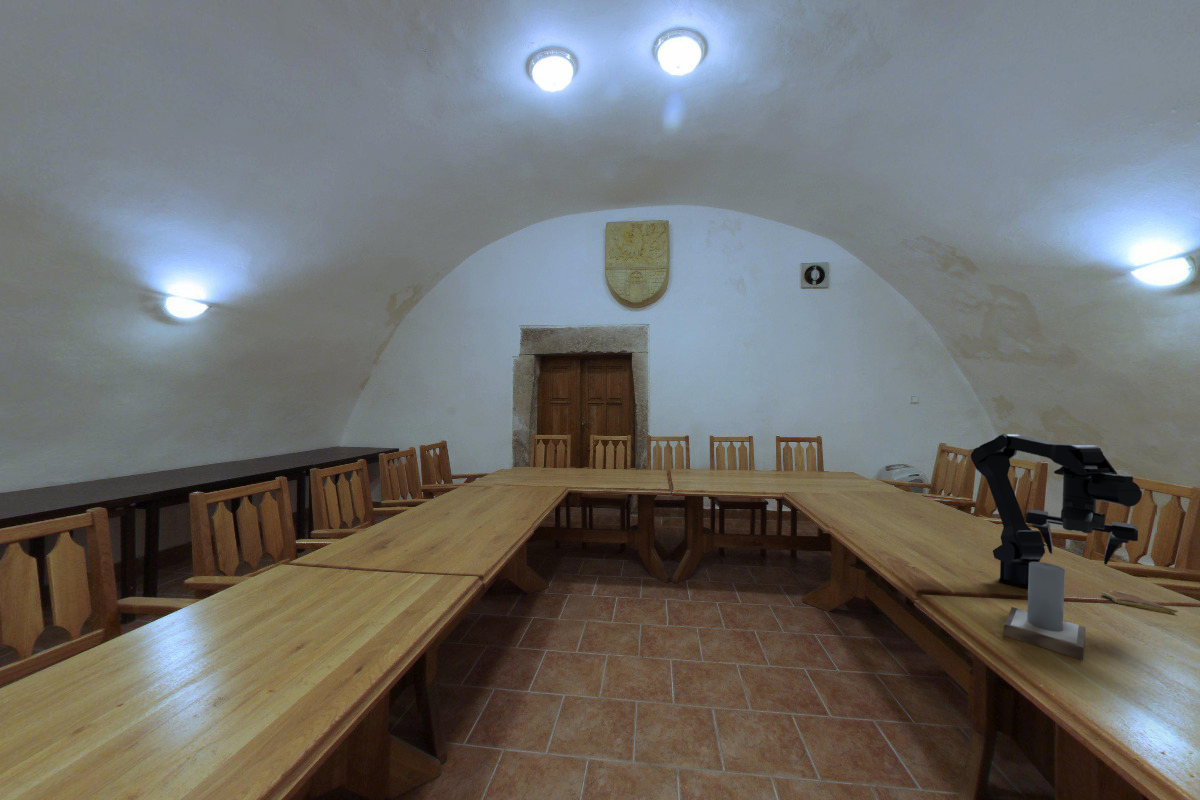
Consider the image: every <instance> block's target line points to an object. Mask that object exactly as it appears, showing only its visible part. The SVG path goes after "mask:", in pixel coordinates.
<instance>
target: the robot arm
mask: <svg viewBox="0 0 1200 800" xmlns="http://www.w3.org/2000/svg"><path fill="white" fill-rule="evenodd" d="M1017 452H1023V453H1027V454H1031V455H1035V456H1039V457H1044V458H1047V459H1049V460H1051V461H1052V462H1053V463H1055V464H1057V465H1060V466H1061V467H1059V468H1058V469H1056V470H1054V471H1053V474H1054V475H1058V476H1063V479H1062V480H1063V481H1062V505H1061V507H1062V508H1061V511H1060V516H1054V515H1049V511H1044V510H1039V509H1028V510H1027V511H1026V512H1025V517H1024V515H1023V513H1022V509H1021V507H1020V504H1019V502H1018V499H1017V496H1016V494H1015V492H1014V488H1013V485H1012V484H1011V481H1010V478H1009V472H1010V468H1011V461H1010V459H1012V458H1013V457H1015V456H1016V455H1017ZM970 459H971V461H972V463H973V465H974V467H975V470H977V471H978V473H980V474H981V475H983V477H984V478H985V480H986V481H987V484H988V488H989V489H990V493H991V495H992V498H993V500H994V501H993V502H994V504H995V507H996V509H997V512H998V515H999V518H1000V520H1001V523H1002V525H1003V526H1002V527H1003V528H1002V530H1001V535H1000V542H1001V544H1000V545H999V546H998V547H996V548H994V549H993V550H992V554H993V557H994V559H996V560H998V561H1000V564H999V565H1000V566H999V579H998V582H999V583H1001V584H1002V583H1003V584H1006V585H1010V586H1013V587H1017V588H1018V587H1019V588H1022V589H1027V590H1028V579H1029V562H1041V560H1042V558H1043V556H1044V554H1046V548H1045V547H1047V550H1048V553H1049V554H1053V548H1054V547H1053V546H1054V545H1053V541H1052V540H1053V539H1052V530H1051V524H1053V525H1054V524H1055V525H1058V526H1059V525H1061V526H1062V528H1063V529H1064V530H1066V531H1076V532H1082V534H1083V533H1084V534H1092V533H1093V531H1098V532H1103V533H1108V534H1109V535H1108V539H1107V543H1106V548H1105V552H1104V558H1103V565H1107V564H1108V563H1109V561H1110V560H1111V557H1112V556H1113V554H1114V552H1115V551H1116V550H1117V548H1118V547H1119V546H1120V545H1121V544H1123V543H1124V544H1129V543H1130V541H1131V542H1132V541H1133V542H1139V541H1138V540H1139V530H1138V527H1137V526H1136V525H1135V524H1134V523H1133V524H1132V523H1126V522H1125V523H1124V522H1119V521H1111V524H1108V523H1106V514H1105V513H1102V512H1101V513H1100V512H1097V501H1102V502H1105V503H1110V504H1115V505H1120V506H1123V507H1128V508H1129V507H1134V506H1136V505H1137V504H1138V503H1140V501H1141V499H1142V496H1143V491H1142V490H1141V488H1140V486H1139V484H1137V483H1136V482H1134V476H1132V475H1125V474H1123V475H1120V474H1118V472H1117V470H1115V469H1114V467H1113V466H1112V465H1111V463H1110V462H1109V460H1108V459H1107V457H1105V455H1104V453H1103V451H1102V449H1101V447H1099V446H1097V445H1094V444H1069V443H1057V442H1052V441H1048V440H1042V439H1038V438H1037V439H1036V438H1033V437H1027V436H1023V435H1020V434H1015V433H1012V434H1011V433H1010V434H1009V433H1002V434H1000V435H998V436H996V438H994V439H992V440H989V441H987V442H985V443H983V444H981V445H980V446H977V447H975V448H974V449H973V450H972V452H971V453H970ZM1027 524H1029V525H1032V526H1031V527H1032V528H1035V529H1037V530H1033V529H1031V527H1030V526H1028V525H1027ZM1042 537H1043V538H1042ZM1043 540H1044V541H1043Z"/></svg>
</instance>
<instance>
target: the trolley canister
mask: <svg viewBox="0 0 1200 800" xmlns="http://www.w3.org/2000/svg"><path fill="white" fill-rule="evenodd" d="M1065 571H1066V570H1065V569H1064V568H1063V567H1061V566H1059V565H1056V564H1052V563H1048V562H1041V561H1040V562H1029V579H1028V589H1027V611H1028V612H1027V621H1028V622H1029V623H1030V624H1032V625H1034V626H1036V627H1038V628H1041V629H1045V630H1049V631H1056V632H1059V631H1062V630H1063V621H1064V606H1065V603H1064V602H1065V601H1064V600H1065V573H1066V572H1065Z"/></svg>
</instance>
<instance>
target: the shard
mask: <svg viewBox="0 0 1200 800" xmlns="http://www.w3.org/2000/svg"><path fill="white" fill-rule="evenodd" d="M1100 594H1101V595H1102V596H1103V597H1105V596H1106V597H1105V598H1108V597H1109V598H1108V599H1110V598H1111V599H1112V600H1111V599H1110V600H1111V601H1113V602H1115V604H1118V605H1119V604H1120V605H1126V606H1131V607H1135V608H1141V609H1145V610H1150V611H1154V612H1159V613H1164V614H1170V615H1171V614H1172V615H1175V614H1176V613H1177V612H1178V610H1177V609H1173V608H1170V607H1167V606H1164V605H1162V604H1158V603H1156V602H1154V601H1151V600H1148V599H1147V598H1143V597H1140V596H1137V595H1134V594H1132V593H1128V592H1125V591H1120V590H1102V591H1101V592H1100Z"/></svg>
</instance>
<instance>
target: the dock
mask: <svg viewBox="0 0 1200 800" xmlns="http://www.w3.org/2000/svg"><path fill="white" fill-rule="evenodd" d="M1027 612H1028V610H1025V609H1021V608H1018V607H1014V606H1011V608H1010V610H1009V613H1008V615H1007V617H1006V619H1005V621H1004V624H1003V636H1005V637H1008V638H1011V639H1015V640H1018V641H1021V642H1024V643H1027V644H1031V645H1034V646H1037V647H1040V648H1044V649H1045V650H1050V651H1053V652H1056V653H1059V654H1063V655H1065V654H1066V655H1067V656H1068V657H1072V658H1075V657H1076V659H1078V658H1079V659H1078V660H1081V659H1082V661H1083V660H1084V654H1085V642H1086V626H1083V625H1079V624H1075V623H1072V622H1069V621H1066V620H1065V621H1064V620H1063V630H1062V631H1059V632H1056V631H1049V630H1045V629H1041V628H1038V627H1036V626H1034V625H1032V624H1030V623H1029V622H1028V621H1027Z"/></svg>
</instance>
